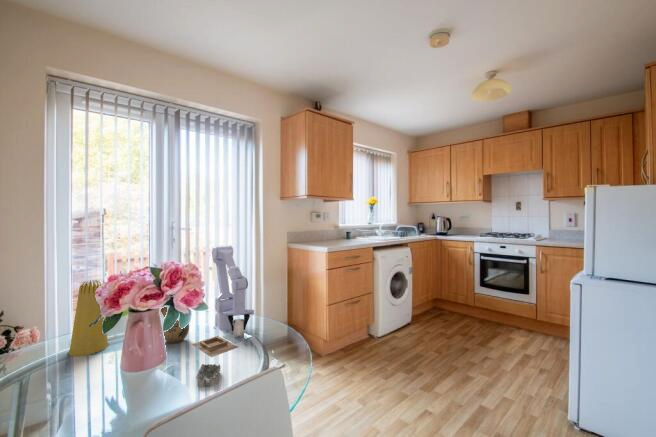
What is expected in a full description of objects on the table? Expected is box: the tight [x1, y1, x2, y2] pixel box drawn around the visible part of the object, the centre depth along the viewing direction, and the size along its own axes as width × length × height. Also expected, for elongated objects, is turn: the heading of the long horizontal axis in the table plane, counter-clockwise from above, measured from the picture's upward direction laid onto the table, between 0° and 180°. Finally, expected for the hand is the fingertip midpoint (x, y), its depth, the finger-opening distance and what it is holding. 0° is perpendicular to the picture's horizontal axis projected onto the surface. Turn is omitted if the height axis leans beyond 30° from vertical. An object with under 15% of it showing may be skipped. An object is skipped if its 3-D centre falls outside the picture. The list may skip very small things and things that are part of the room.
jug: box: [232, 318, 245, 337], centre depth 142 cm, size 9×5×7 cm, turn 19°
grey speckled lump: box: [195, 363, 221, 388], centre depth 107 cm, size 11×8×4 cm
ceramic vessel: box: [160, 307, 190, 344], centre depth 137 cm, size 16×9×25 cm, turn 93°
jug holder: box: [191, 335, 238, 358], centre depth 133 cm, size 18×13×2 cm
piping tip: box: [68, 279, 109, 357], centre depth 128 cm, size 14×14×30 cm
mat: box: [222, 331, 247, 344], centre depth 144 cm, size 11×11×1 cm
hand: (238, 329), depth 144 cm, fingers closed on jug, 5 cm apart
